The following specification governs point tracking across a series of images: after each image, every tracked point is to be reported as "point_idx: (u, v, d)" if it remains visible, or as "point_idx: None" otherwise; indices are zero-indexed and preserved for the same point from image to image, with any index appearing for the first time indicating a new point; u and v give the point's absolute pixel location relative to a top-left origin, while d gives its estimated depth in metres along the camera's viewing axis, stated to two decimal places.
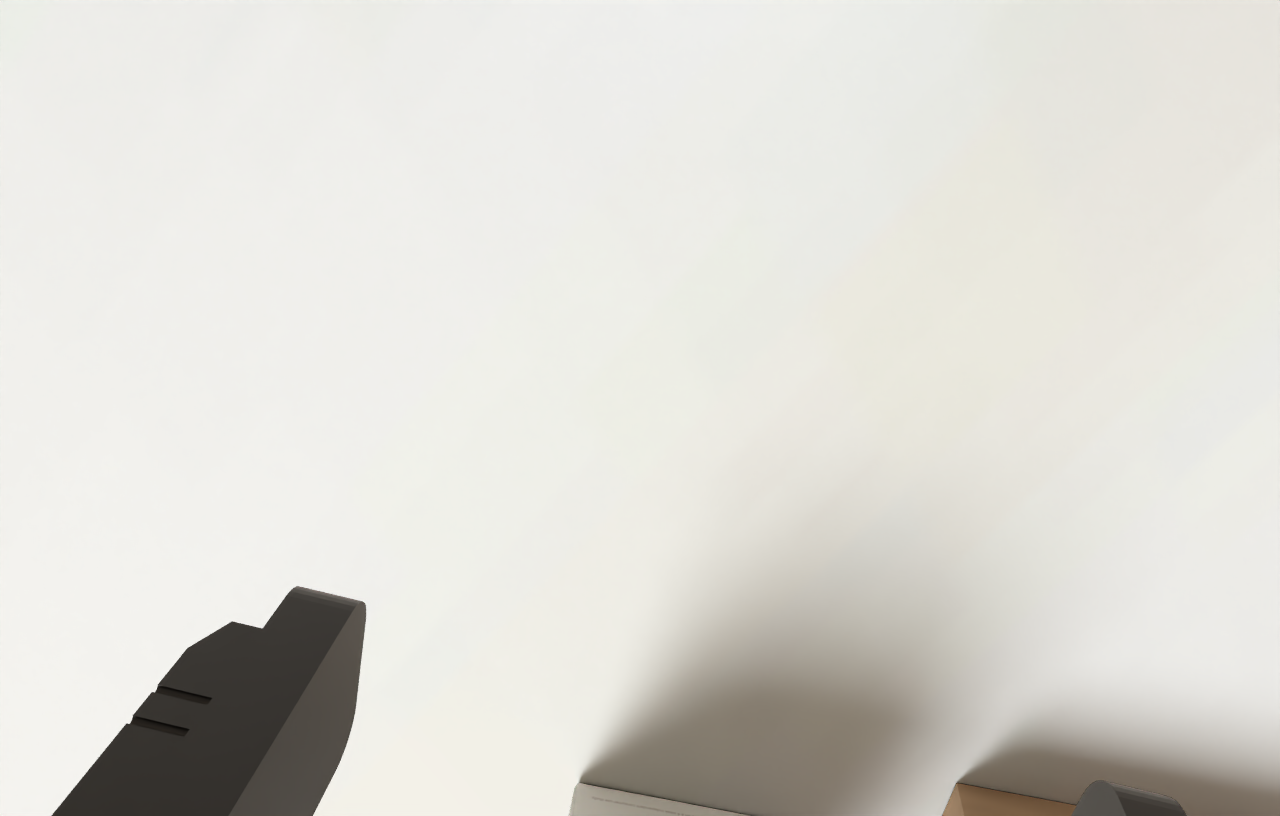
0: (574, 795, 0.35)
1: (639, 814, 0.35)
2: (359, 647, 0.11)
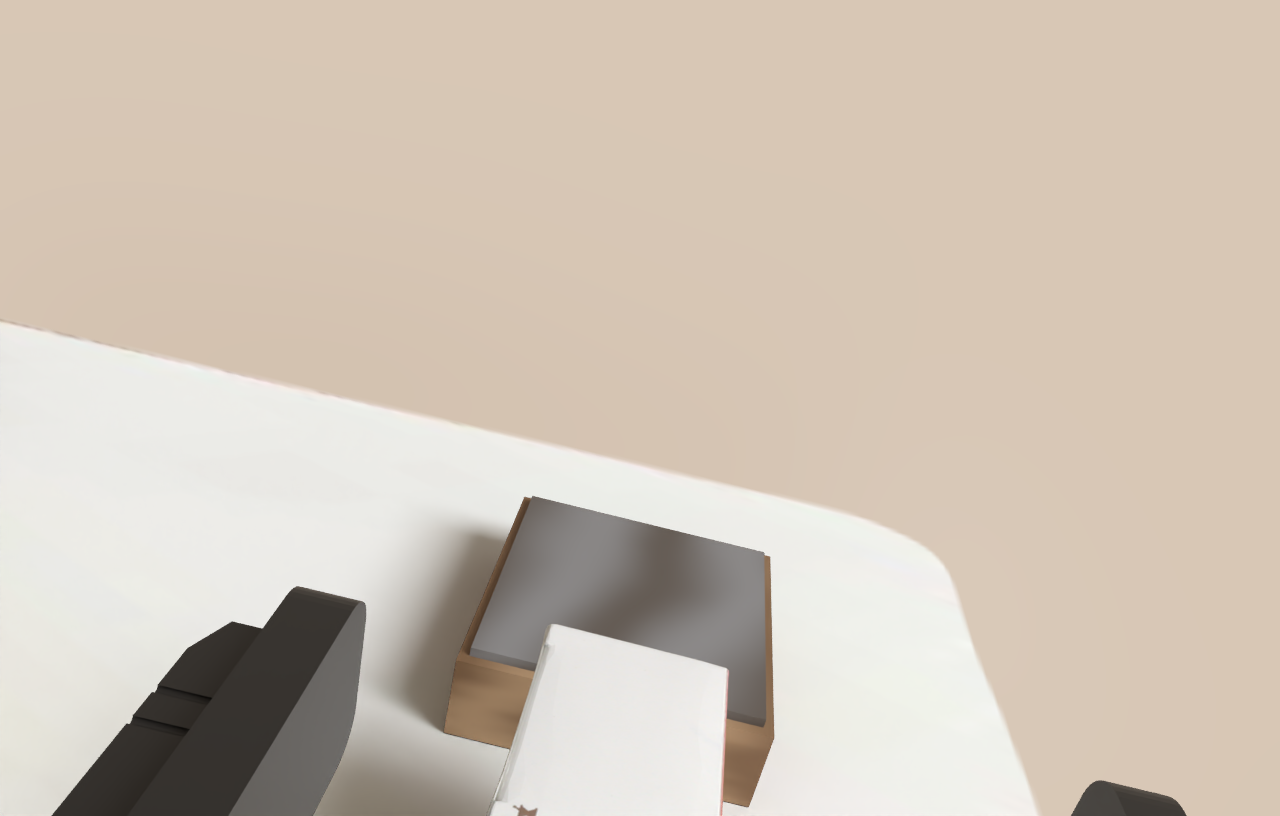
0: None
1: None
2: (359, 647, 0.11)
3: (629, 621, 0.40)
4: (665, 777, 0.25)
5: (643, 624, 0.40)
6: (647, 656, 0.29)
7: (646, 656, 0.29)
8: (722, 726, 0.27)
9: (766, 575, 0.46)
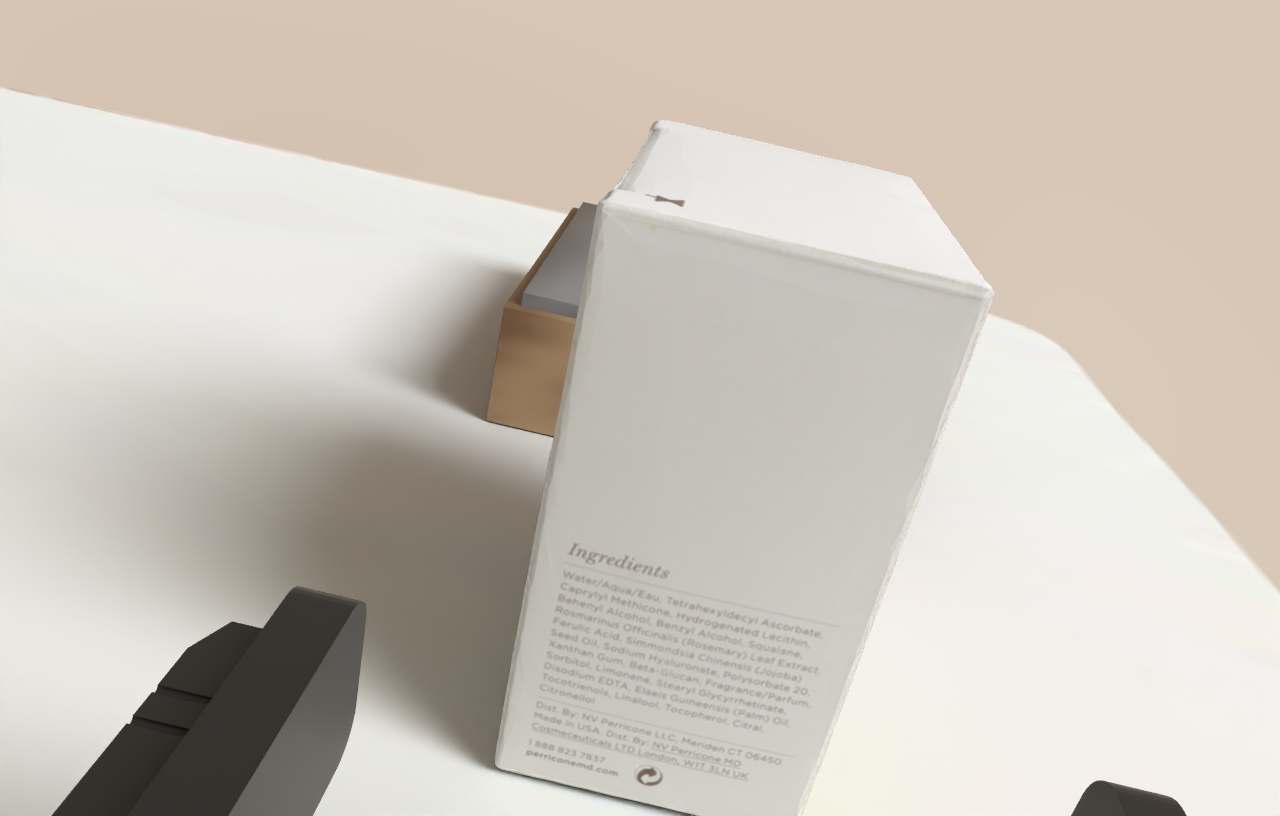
0: (498, 743, 0.17)
1: None
2: (359, 647, 0.11)
3: None
4: (869, 212, 0.16)
5: None
6: (800, 153, 0.20)
7: (799, 153, 0.20)
8: (928, 203, 0.18)
9: None
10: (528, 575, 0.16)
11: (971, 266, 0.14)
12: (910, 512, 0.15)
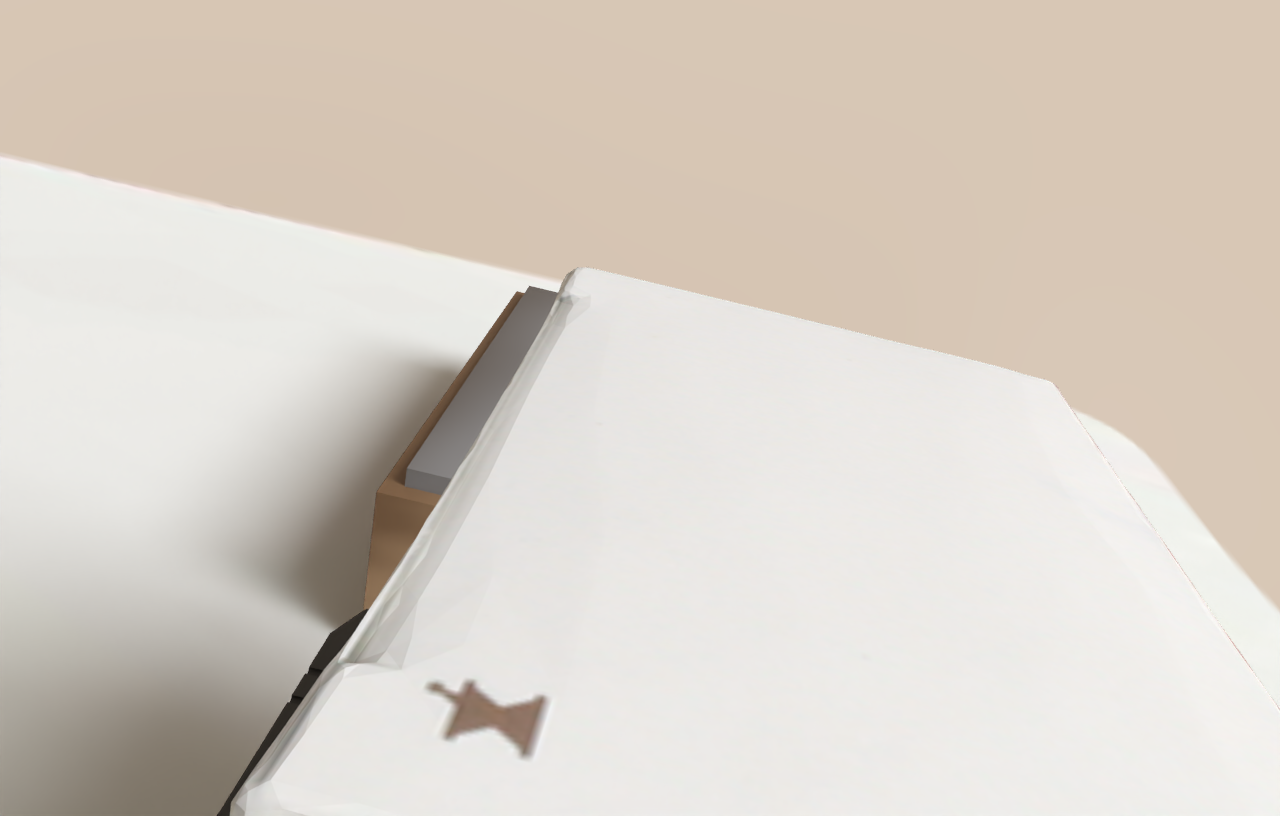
0: None
1: None
2: None
3: None
4: (1041, 606, 0.06)
5: None
6: (843, 339, 0.10)
7: (840, 338, 0.10)
8: (1123, 488, 0.09)
9: None
10: None
11: None
12: None
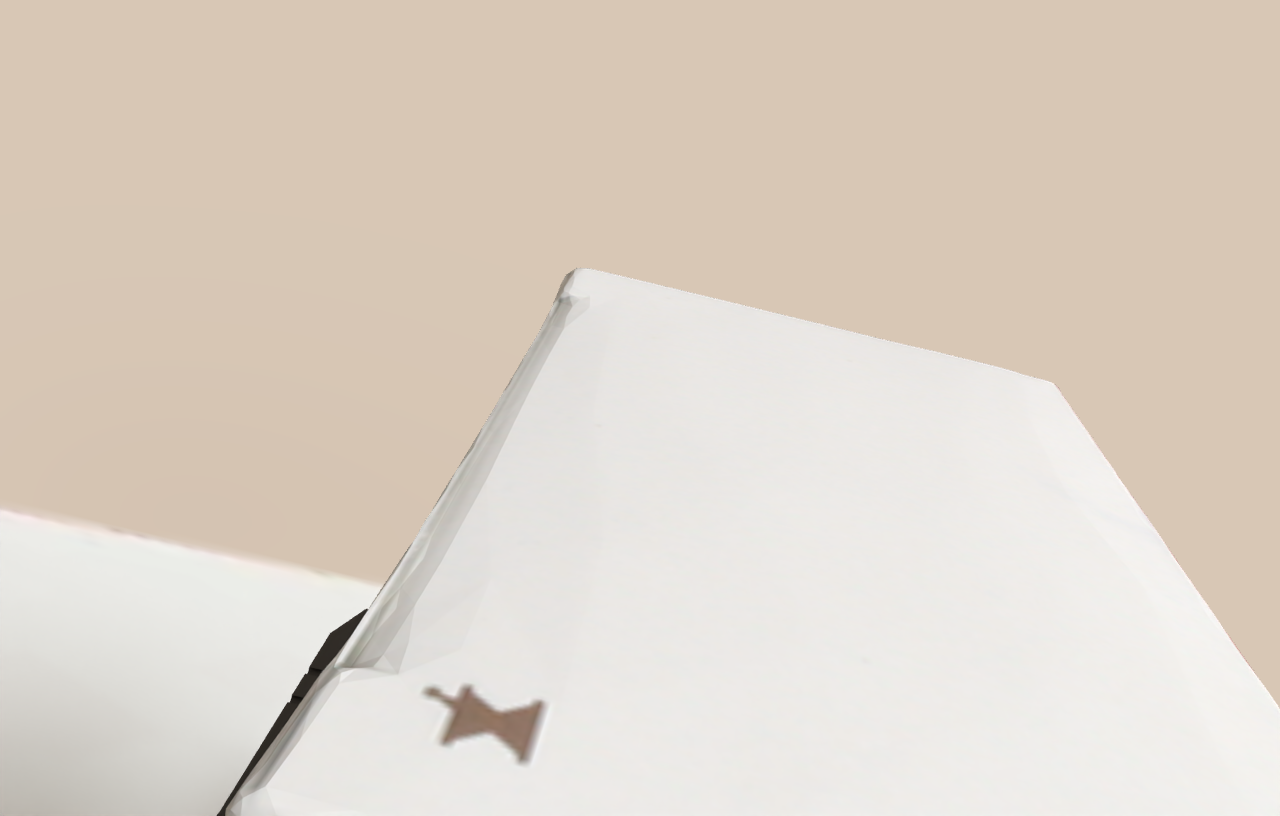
0: None
1: None
2: None
3: None
4: (1043, 609, 0.06)
5: None
6: (843, 340, 0.10)
7: (841, 339, 0.10)
8: (1125, 489, 0.08)
9: None
10: None
11: None
12: None
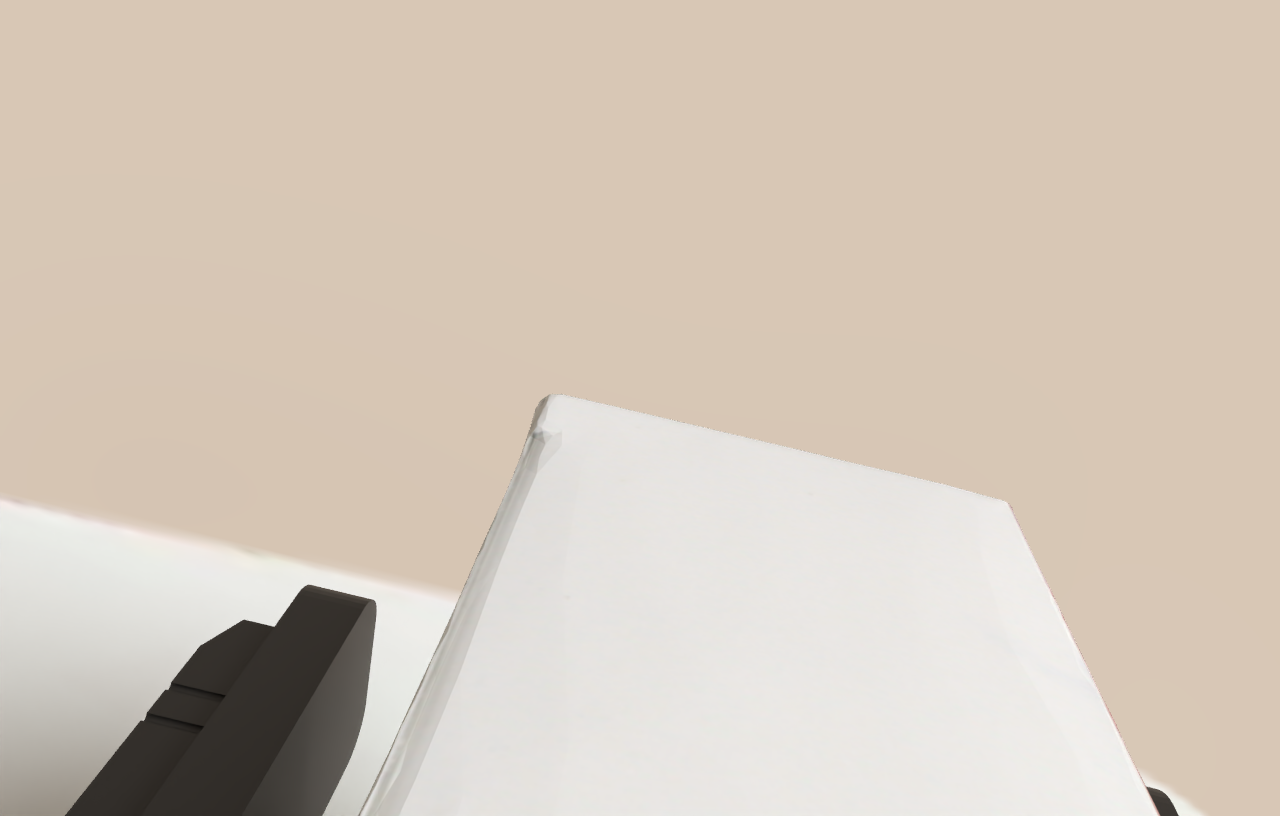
0: None
1: None
2: (369, 645, 0.11)
3: None
4: (980, 793, 0.07)
5: None
6: (806, 467, 0.11)
7: (803, 466, 0.11)
8: (1067, 633, 0.09)
9: None
10: None
11: None
12: None
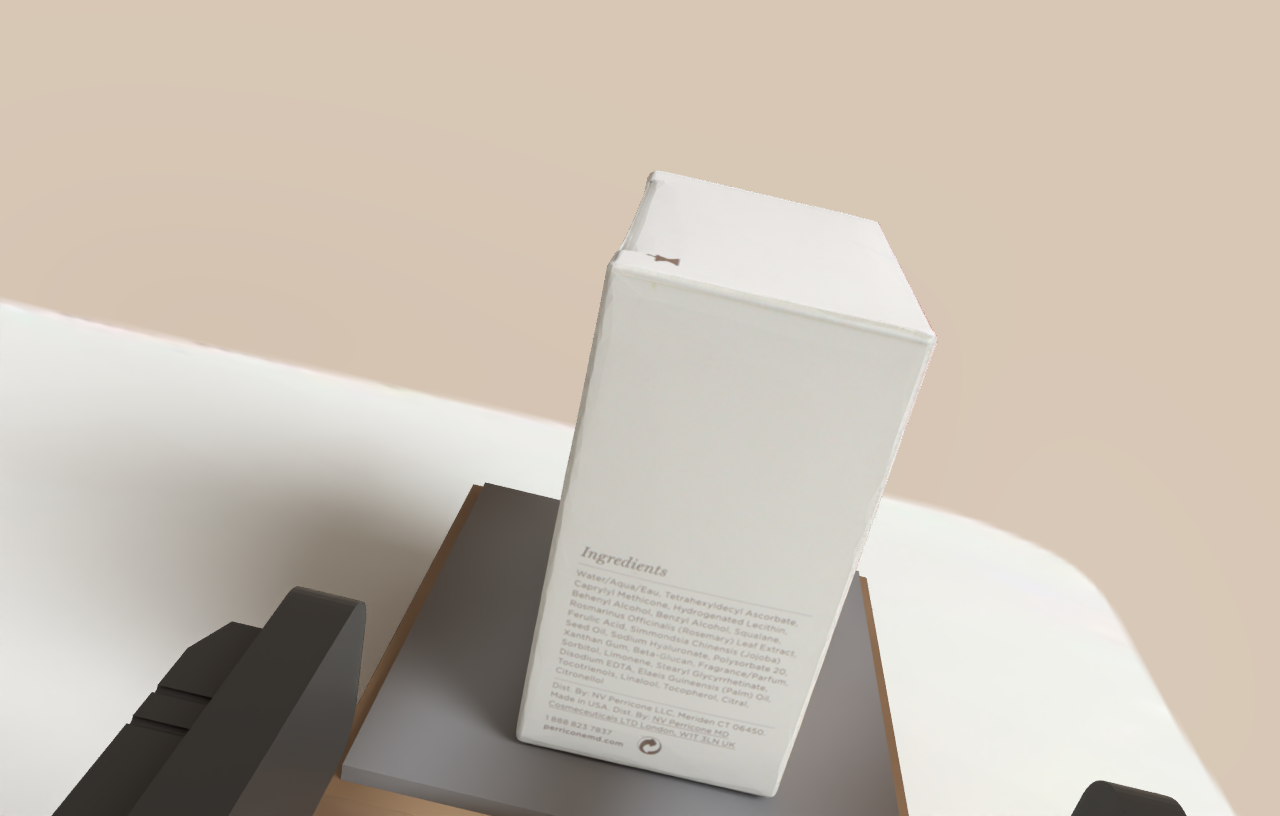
0: (519, 718, 0.20)
1: None
2: (359, 647, 0.11)
3: None
4: (837, 262, 0.19)
5: None
6: (779, 201, 0.23)
7: (778, 200, 0.23)
8: (890, 249, 0.21)
9: (865, 609, 0.28)
10: (546, 574, 0.19)
11: (920, 314, 0.17)
12: (870, 519, 0.17)
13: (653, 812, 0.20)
